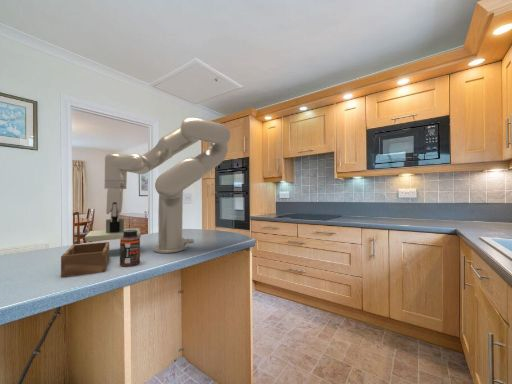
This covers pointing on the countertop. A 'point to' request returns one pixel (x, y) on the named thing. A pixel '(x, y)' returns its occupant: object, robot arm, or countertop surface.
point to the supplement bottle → (130, 248)
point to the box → (85, 259)
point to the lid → (107, 234)
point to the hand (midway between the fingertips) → (114, 230)
